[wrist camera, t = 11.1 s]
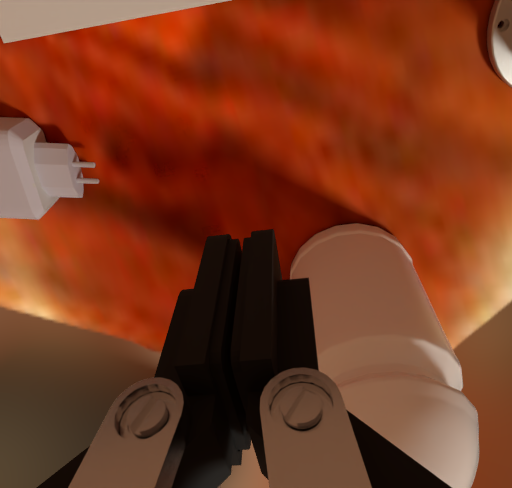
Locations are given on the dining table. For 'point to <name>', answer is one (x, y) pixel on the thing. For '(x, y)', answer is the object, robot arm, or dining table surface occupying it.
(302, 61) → the dining table surface
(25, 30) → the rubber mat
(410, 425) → the bottle
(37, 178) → the charger
